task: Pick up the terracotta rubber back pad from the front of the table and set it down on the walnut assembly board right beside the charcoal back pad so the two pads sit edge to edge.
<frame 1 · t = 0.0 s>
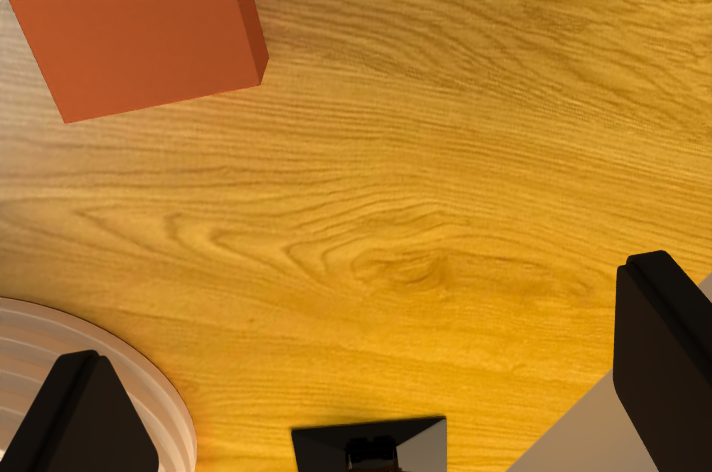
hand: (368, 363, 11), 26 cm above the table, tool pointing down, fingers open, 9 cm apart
black mount: (371, 450, 51), on the table
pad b: (164, 21, 33), on the table
plate stack: (18, 436, 49), on the table
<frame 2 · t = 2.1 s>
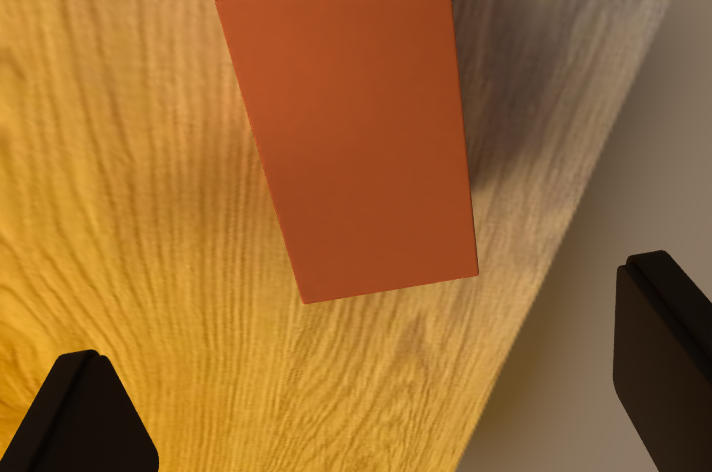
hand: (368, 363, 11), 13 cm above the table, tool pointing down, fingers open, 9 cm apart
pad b: (358, 99, 22), on the table
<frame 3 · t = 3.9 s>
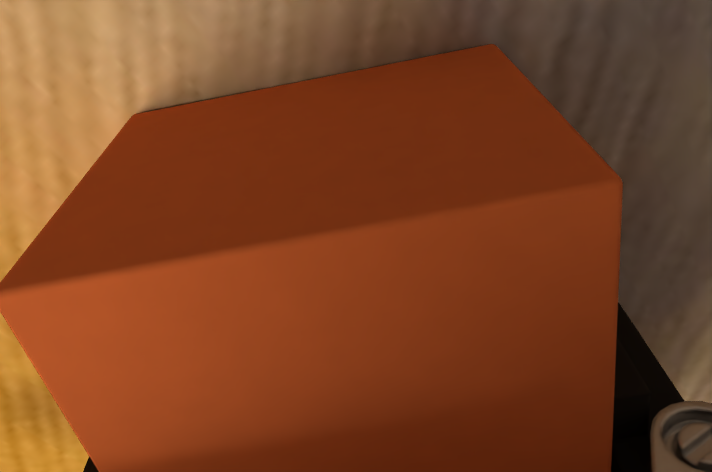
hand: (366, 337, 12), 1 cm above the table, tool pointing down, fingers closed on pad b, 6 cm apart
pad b: (364, 318, 12), on the table, touching gripper
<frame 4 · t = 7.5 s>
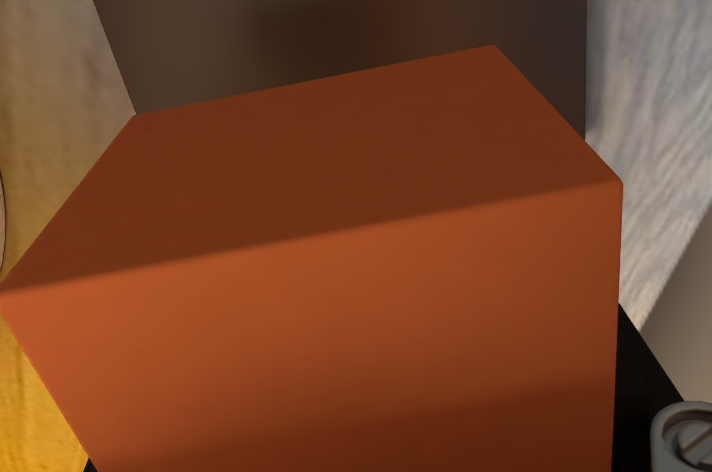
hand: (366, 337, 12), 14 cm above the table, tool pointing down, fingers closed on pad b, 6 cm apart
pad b: (364, 319, 12), point 14 cm above the table, touching gripper
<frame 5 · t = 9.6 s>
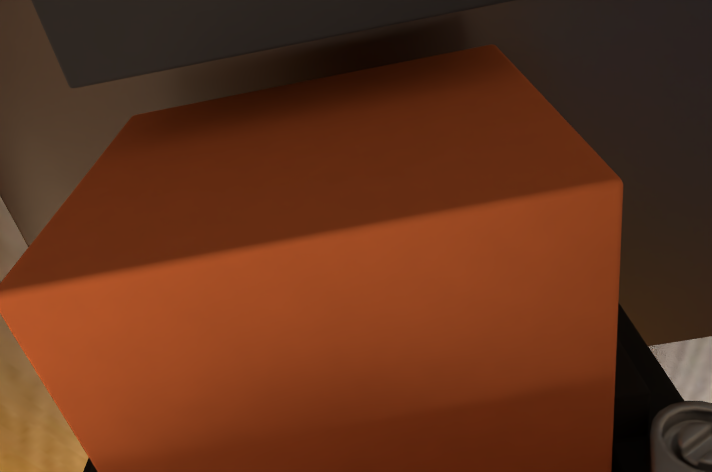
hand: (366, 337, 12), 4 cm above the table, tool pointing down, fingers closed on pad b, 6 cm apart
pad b: (364, 318, 12), point 4 cm above the table, touching gripper
when the fingers open (1 cm above the table, at t = 10.9 s): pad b stays where it is, resting on board.
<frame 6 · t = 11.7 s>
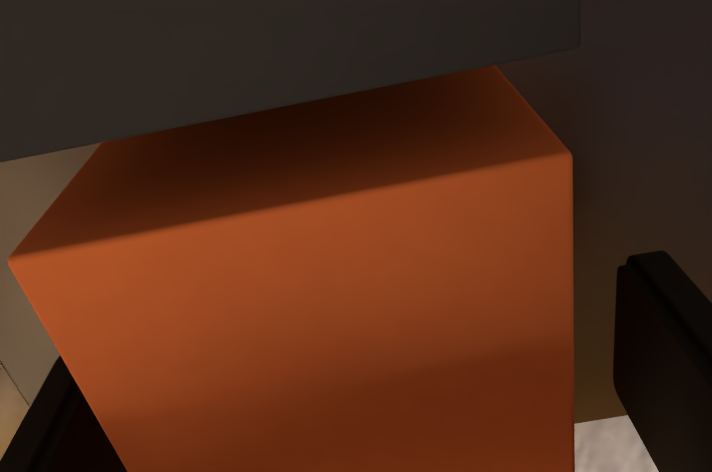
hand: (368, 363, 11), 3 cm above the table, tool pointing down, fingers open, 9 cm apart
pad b: (352, 300, 13), point 1 cm above the table, touching board
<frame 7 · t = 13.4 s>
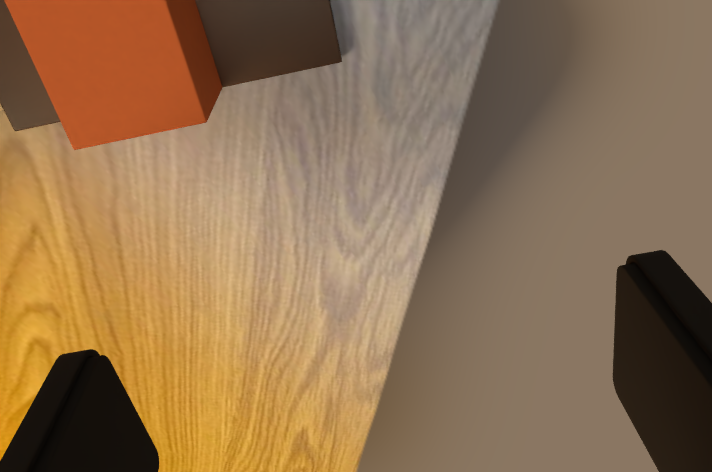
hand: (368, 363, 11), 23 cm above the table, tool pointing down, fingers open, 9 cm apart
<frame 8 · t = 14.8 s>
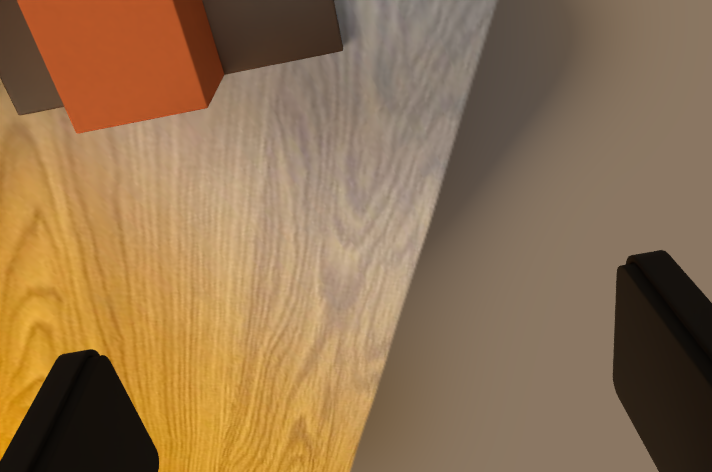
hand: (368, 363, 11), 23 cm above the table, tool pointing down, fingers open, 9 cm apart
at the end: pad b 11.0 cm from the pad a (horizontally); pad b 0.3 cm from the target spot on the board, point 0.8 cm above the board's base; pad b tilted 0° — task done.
